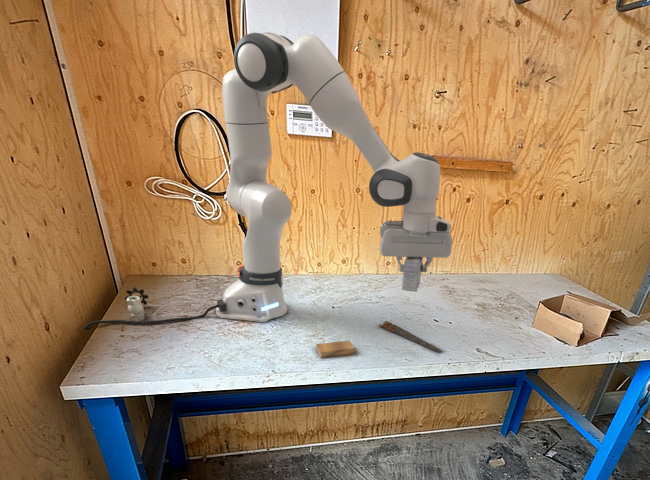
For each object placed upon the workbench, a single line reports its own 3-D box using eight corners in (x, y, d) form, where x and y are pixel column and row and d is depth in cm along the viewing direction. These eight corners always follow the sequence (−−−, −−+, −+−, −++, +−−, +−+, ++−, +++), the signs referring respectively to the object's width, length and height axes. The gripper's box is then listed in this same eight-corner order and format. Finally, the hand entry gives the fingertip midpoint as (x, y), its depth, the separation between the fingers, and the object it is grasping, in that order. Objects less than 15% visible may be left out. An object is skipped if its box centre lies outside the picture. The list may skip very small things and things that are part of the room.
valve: (150, 320, 131) (150, 305, 140) (145, 299, 127) (146, 285, 136) (125, 322, 128) (127, 307, 137) (120, 301, 125) (122, 287, 134)
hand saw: (446, 348, 131) (447, 346, 130) (438, 353, 128) (438, 351, 127) (386, 321, 143) (386, 320, 143) (377, 325, 140) (377, 323, 140)
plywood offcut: (321, 357, 120) (321, 352, 119) (316, 349, 124) (316, 343, 123) (354, 353, 123) (355, 348, 122) (349, 345, 127) (349, 340, 126)
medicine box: (416, 292, 125) (420, 262, 120) (401, 290, 126) (404, 260, 121) (419, 283, 131) (423, 254, 126) (405, 281, 132) (408, 252, 127)
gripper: (382, 223, 114) (378, 274, 122) (457, 225, 116) (449, 275, 124) (379, 217, 119) (376, 267, 127) (451, 220, 122) (443, 268, 130)
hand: (412, 271), depth 126 cm, fingers closed on medicine box, 5 cm apart
